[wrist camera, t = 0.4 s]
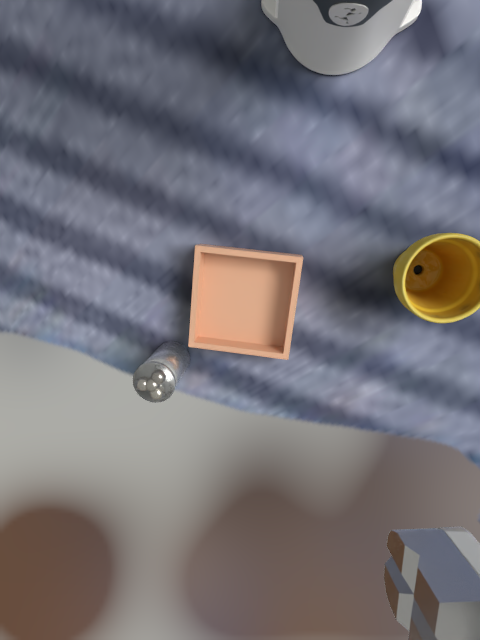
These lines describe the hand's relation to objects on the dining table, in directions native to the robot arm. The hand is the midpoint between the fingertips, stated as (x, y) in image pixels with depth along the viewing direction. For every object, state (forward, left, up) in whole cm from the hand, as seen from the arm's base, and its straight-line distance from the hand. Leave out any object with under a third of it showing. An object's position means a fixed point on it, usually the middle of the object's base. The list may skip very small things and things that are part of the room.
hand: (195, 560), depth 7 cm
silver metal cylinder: (+15, -13, -47) cm, 51 cm away
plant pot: (-3, +21, -47) cm, 52 cm away
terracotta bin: (+4, -2, -47) cm, 47 cm away
